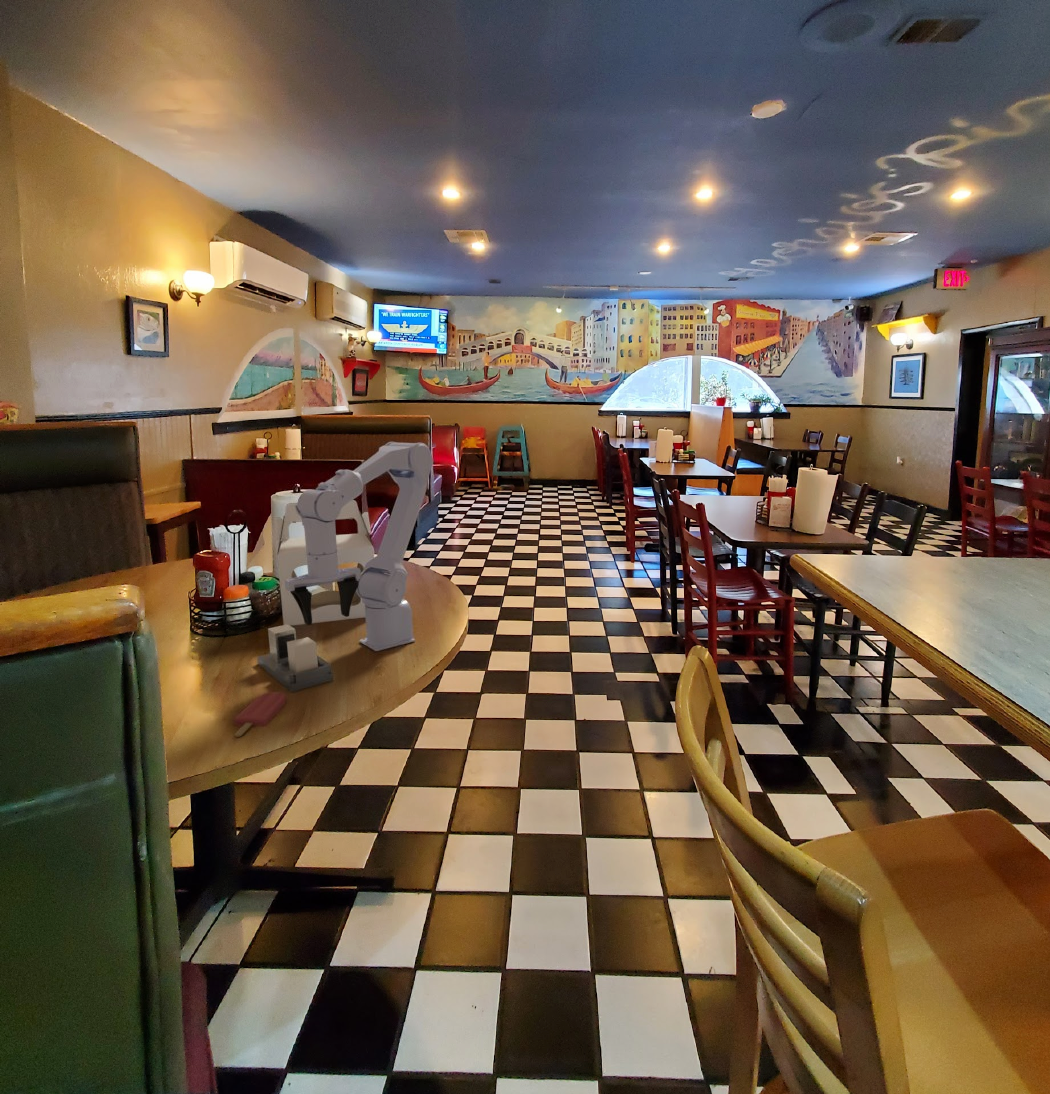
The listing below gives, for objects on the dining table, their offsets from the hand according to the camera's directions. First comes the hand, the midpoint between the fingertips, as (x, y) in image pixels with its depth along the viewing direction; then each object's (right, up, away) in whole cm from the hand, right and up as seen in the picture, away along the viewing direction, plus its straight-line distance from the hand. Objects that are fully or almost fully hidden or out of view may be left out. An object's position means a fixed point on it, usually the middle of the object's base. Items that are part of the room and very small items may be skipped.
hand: (327, 619), depth 135 cm
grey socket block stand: (-7, -10, -1) cm, 12 cm away
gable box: (-9, -2, +35) cm, 36 cm away
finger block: (-3, -9, -6) cm, 11 cm away
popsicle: (-6, -15, -20) cm, 25 cm away
